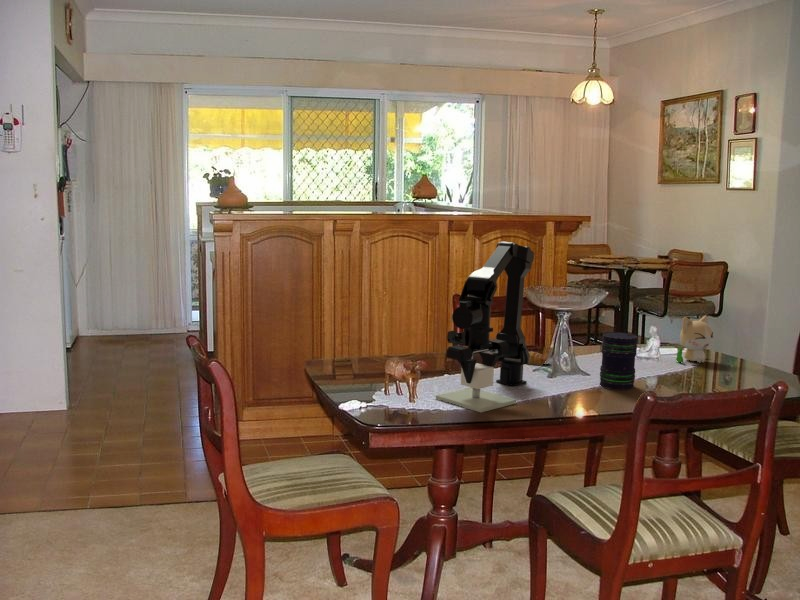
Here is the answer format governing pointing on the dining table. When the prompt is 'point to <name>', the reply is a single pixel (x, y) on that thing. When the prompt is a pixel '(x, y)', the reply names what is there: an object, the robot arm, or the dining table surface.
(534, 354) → the pastry
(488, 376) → the block
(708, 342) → the kitten
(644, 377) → the dining table surface
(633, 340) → the storage jar
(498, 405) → the stub plate
